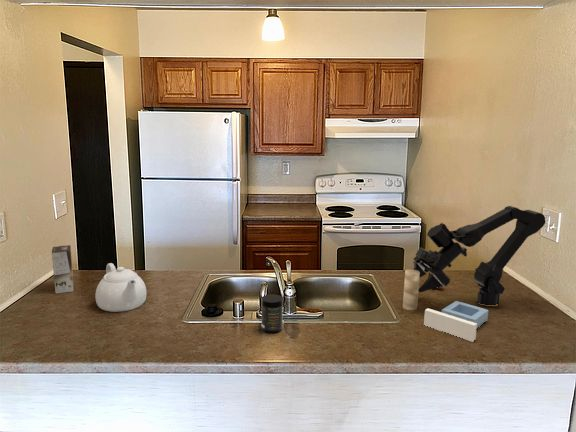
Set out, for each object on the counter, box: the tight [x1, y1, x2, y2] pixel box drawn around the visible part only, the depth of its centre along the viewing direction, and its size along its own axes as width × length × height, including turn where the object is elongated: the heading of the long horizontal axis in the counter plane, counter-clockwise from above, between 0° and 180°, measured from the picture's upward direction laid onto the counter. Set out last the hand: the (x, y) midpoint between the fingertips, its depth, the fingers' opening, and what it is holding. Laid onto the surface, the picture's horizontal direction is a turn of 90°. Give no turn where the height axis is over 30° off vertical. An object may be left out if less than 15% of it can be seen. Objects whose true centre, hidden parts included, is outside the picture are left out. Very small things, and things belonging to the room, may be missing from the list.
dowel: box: [402, 268, 421, 311], centre depth 162 cm, size 5×5×14 cm
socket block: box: [441, 300, 489, 329], centre depth 153 cm, size 11×11×4 cm
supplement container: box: [260, 293, 284, 334], centre depth 145 cm, size 7×7×10 cm
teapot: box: [95, 262, 147, 313], centre depth 164 cm, size 19×18×14 cm
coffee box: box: [51, 244, 74, 294], centre depth 176 cm, size 9×6×16 cm
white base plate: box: [423, 307, 478, 343], centre depth 150 cm, size 20×16×6 cm
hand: (413, 286), depth 162 cm, fingers open, 9 cm apart
